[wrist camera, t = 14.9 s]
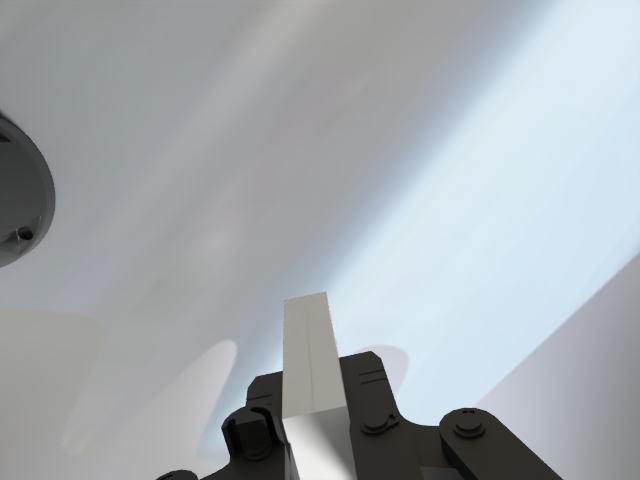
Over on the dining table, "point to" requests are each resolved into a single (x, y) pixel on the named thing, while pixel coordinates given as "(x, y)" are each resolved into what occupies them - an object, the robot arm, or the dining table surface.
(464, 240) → the dining table surface
